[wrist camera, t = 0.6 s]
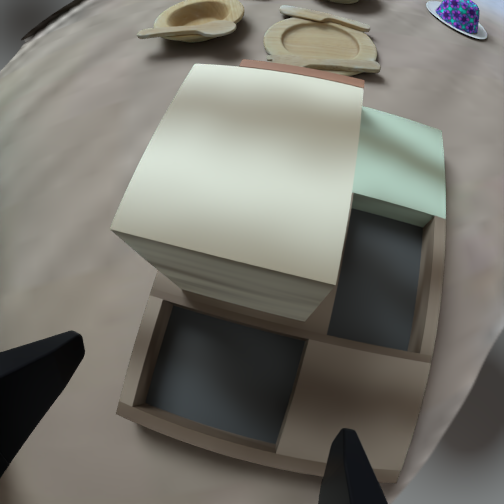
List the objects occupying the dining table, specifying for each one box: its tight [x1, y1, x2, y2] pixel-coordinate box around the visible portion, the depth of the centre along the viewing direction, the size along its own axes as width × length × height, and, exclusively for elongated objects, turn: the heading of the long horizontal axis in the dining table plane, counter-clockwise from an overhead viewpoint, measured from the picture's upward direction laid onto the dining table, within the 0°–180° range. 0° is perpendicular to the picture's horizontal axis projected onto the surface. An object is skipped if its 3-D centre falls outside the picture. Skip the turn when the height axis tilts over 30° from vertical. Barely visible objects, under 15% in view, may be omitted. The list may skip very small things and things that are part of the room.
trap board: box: [116, 59, 446, 483], centre depth 20 cm, size 28×19×6 cm
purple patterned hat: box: [426, 0, 487, 39], centre depth 32 cm, size 12×12×5 cm
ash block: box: [110, 64, 363, 322], centre depth 16 cm, size 9×8×10 cm
